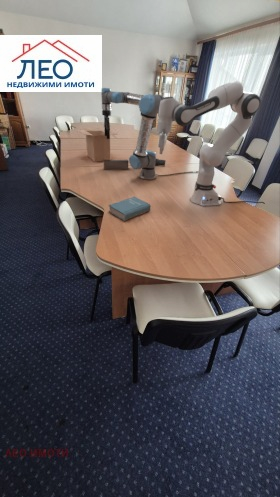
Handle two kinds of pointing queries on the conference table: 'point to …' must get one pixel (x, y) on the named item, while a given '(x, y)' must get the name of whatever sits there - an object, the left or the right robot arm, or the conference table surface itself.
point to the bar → (115, 164)
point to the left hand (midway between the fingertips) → (107, 137)
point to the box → (97, 144)
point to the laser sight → (160, 162)
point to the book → (129, 208)
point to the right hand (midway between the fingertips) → (161, 152)
